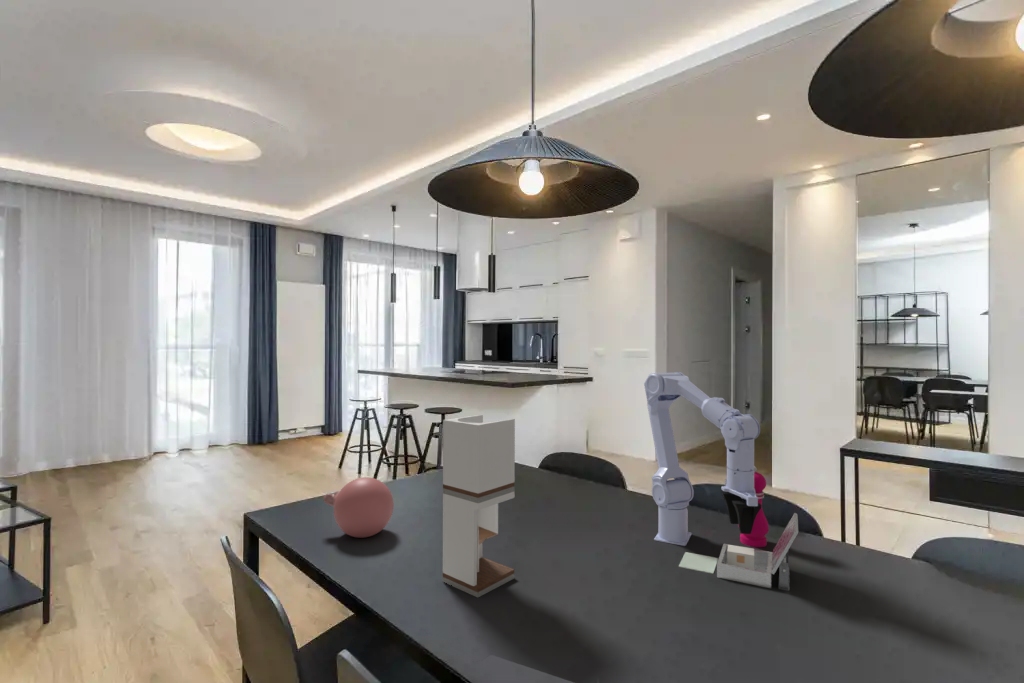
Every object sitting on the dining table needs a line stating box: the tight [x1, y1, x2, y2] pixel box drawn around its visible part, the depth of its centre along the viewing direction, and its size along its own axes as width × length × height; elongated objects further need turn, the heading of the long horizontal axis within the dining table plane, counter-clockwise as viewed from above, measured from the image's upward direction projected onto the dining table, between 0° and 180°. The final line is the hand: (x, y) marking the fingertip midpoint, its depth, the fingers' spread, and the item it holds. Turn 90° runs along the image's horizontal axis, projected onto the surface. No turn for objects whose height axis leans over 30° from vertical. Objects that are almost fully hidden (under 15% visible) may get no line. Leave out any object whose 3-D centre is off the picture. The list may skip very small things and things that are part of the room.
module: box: [727, 544, 755, 569], centre depth 116 cm, size 4×6×4 cm
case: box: [716, 543, 790, 592], centre depth 115 cm, size 13×14×5 cm
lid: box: [771, 512, 799, 575], centre depth 112 cm, size 13×11×1 cm
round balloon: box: [322, 476, 395, 539], centre depth 137 cm, size 15×20×15 cm
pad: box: [678, 551, 719, 574], centre depth 120 cm, size 9×8×1 cm
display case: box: [442, 414, 516, 599], centre depth 111 cm, size 11×11×35 cm
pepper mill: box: [737, 465, 770, 548], centre depth 132 cm, size 7×7×20 cm
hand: (740, 528), depth 116 cm, fingers open, 5 cm apart
